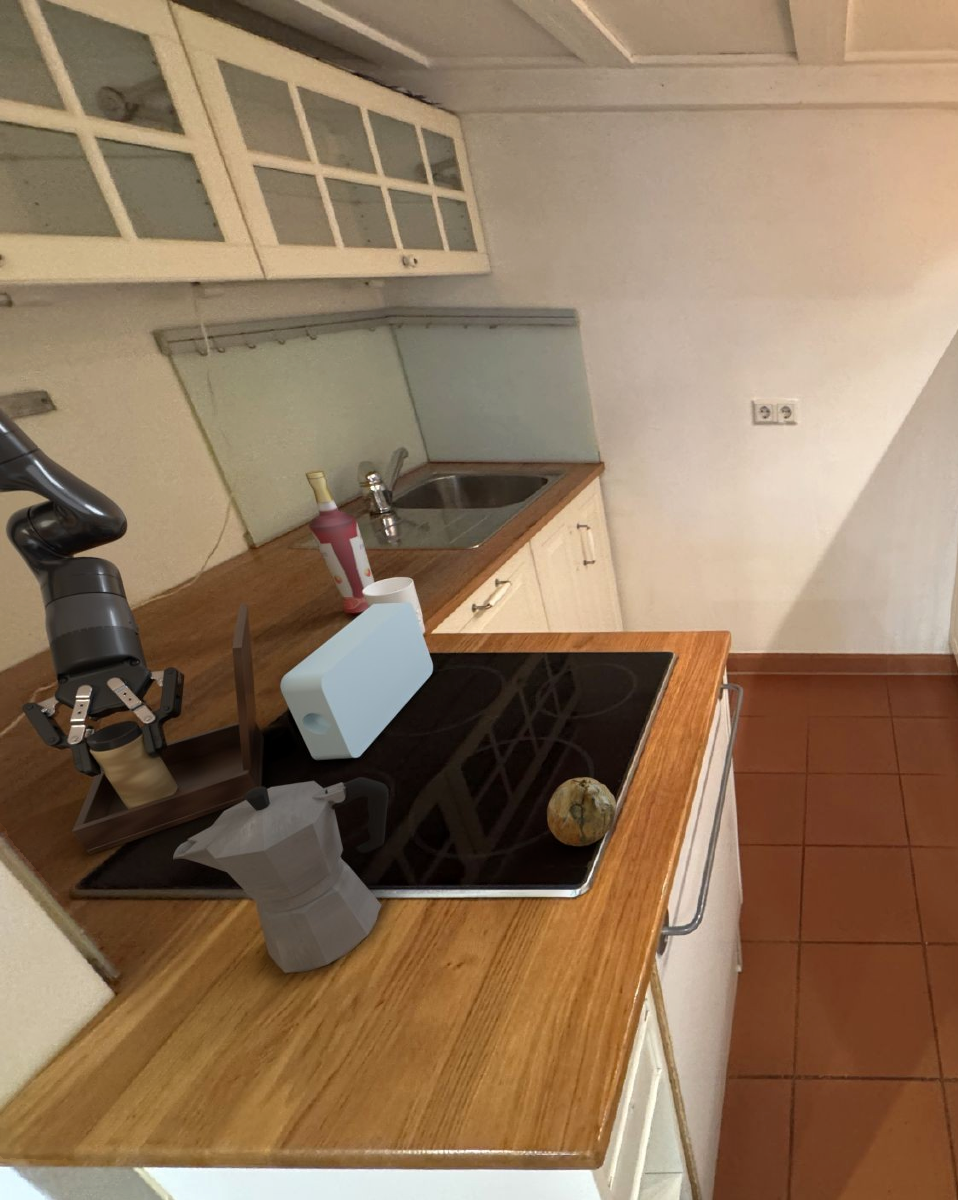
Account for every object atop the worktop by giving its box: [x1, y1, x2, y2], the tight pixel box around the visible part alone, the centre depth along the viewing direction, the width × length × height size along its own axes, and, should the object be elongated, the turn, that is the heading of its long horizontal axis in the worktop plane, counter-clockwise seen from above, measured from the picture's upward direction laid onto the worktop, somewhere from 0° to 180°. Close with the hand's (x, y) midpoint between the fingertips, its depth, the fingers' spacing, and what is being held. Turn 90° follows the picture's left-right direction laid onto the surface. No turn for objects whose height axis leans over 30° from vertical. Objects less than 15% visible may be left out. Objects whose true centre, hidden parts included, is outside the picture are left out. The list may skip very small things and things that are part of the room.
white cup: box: [362, 576, 426, 635], centre depth 118 cm, size 8×8×10 cm
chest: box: [71, 721, 265, 856], centre depth 83 cm, size 16×15×4 cm
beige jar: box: [87, 720, 178, 809], centre depth 79 cm, size 5×5×10 cm
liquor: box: [305, 470, 376, 617], centre depth 124 cm, size 7×7×28 cm
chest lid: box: [231, 604, 257, 770], centre depth 83 cm, size 16×15×1 cm
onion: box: [546, 776, 618, 847], centre depth 74 cm, size 8×8×8 cm
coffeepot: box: [172, 776, 390, 974], centre depth 61 cm, size 15×9×18 cm, turn 125°
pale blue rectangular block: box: [280, 602, 434, 761], centre depth 95 cm, size 23×6×13 cm, turn 4°
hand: (125, 764), depth 77 cm, fingers closed on beige jar, 5 cm apart
